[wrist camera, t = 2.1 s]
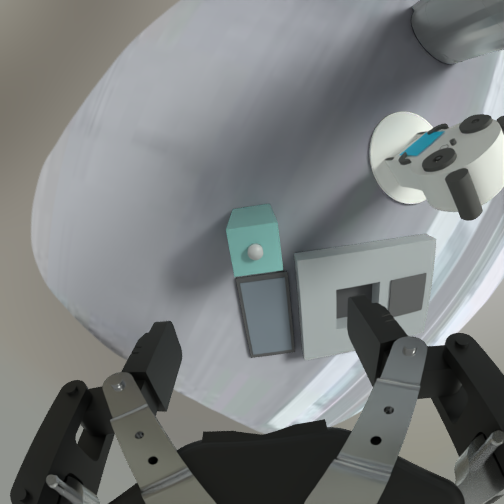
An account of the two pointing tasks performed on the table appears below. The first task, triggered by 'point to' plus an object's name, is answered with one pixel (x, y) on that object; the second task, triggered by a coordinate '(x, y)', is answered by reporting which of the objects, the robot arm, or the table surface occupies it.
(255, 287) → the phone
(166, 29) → the table surface
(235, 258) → the teal knobbed block
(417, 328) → the plate
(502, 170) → the white curved stand
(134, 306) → the table surface
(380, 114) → the table surface
